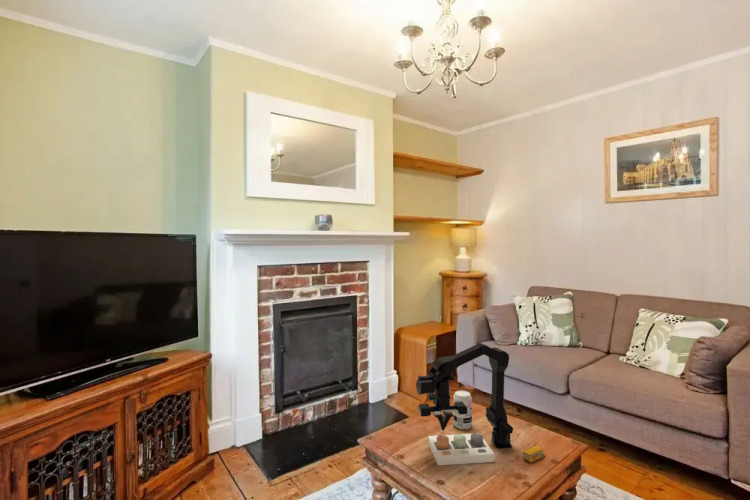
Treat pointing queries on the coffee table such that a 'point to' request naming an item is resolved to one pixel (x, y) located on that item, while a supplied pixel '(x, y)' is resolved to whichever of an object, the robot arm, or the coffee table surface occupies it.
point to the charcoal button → (476, 440)
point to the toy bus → (533, 454)
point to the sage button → (459, 441)
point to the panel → (460, 452)
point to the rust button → (442, 442)
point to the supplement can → (463, 419)
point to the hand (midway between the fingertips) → (442, 430)
